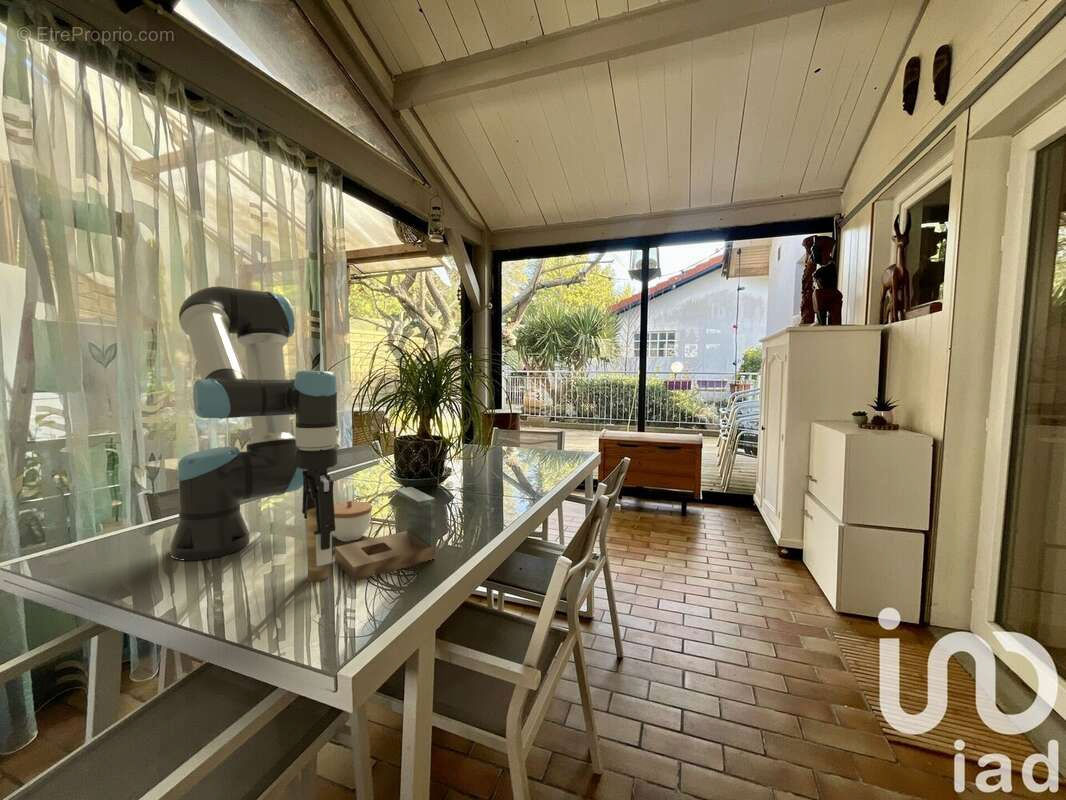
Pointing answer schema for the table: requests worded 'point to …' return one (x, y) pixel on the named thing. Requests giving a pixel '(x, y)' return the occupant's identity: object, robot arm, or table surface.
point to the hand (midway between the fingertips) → (318, 556)
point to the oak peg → (314, 550)
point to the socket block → (394, 542)
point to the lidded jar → (351, 520)
